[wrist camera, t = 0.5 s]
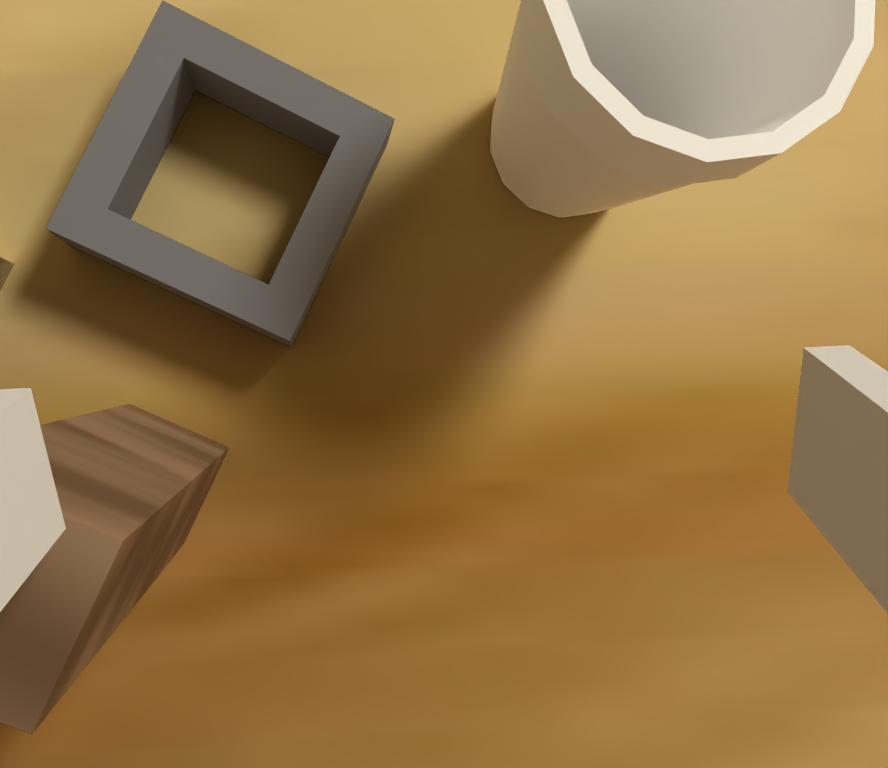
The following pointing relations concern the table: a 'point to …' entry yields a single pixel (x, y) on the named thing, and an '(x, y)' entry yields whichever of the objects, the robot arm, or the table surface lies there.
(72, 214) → the gray square frame
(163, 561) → the walnut rod
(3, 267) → the gray open frame box
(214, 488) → the table surface
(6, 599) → the robot arm
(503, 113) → the foam cup
